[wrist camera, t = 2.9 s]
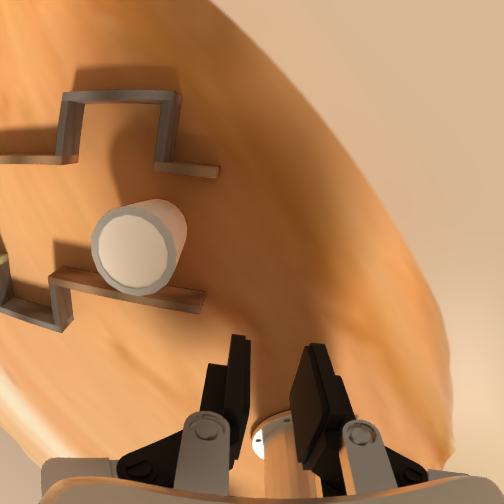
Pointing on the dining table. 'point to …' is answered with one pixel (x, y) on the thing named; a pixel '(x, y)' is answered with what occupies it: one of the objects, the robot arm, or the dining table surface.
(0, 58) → the dining table surface
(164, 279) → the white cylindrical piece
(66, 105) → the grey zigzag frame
